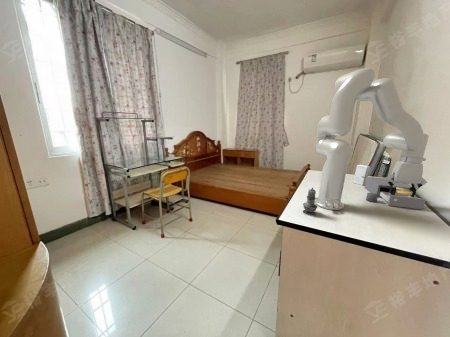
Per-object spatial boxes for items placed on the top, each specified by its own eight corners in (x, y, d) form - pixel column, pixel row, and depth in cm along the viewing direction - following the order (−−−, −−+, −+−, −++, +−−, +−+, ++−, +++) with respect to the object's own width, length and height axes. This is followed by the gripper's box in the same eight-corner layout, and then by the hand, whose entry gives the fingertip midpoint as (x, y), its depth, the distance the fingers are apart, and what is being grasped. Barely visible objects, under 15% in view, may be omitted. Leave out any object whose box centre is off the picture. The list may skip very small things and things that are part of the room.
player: (411, 201, 95) (415, 188, 93) (375, 197, 100) (378, 185, 98) (394, 190, 110) (397, 179, 108) (364, 187, 114) (366, 176, 113)
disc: (406, 191, 94) (407, 188, 93) (415, 196, 87) (416, 193, 87) (389, 189, 96) (390, 186, 95) (397, 194, 89) (398, 191, 89)
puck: (378, 203, 93) (379, 196, 92) (367, 201, 94) (369, 195, 93) (374, 199, 97) (375, 193, 96) (364, 198, 98) (365, 192, 97)
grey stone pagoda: (304, 208, 87) (307, 184, 84) (317, 212, 83) (321, 187, 80) (300, 213, 82) (303, 187, 79) (314, 217, 79) (318, 191, 76)
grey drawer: (423, 209, 85) (426, 199, 84) (388, 205, 89) (391, 196, 88) (403, 196, 100) (405, 187, 99) (374, 193, 104) (376, 185, 103)
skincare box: (352, 182, 123) (356, 165, 119) (356, 181, 125) (359, 164, 122) (362, 185, 117) (366, 167, 114) (366, 184, 119) (370, 166, 116)
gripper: (428, 159, 88) (418, 194, 93) (384, 157, 93) (377, 190, 98) (440, 162, 81) (429, 200, 86) (392, 160, 86) (383, 195, 91)
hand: (401, 194), depth 92 cm, fingers closed on disc, 6 cm apart
